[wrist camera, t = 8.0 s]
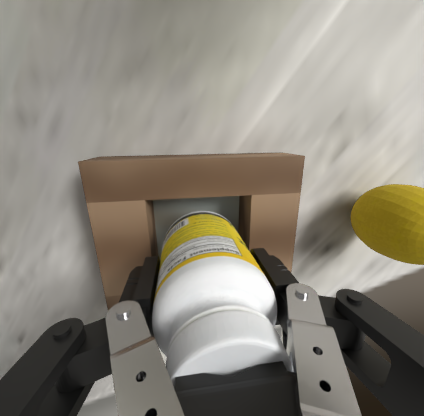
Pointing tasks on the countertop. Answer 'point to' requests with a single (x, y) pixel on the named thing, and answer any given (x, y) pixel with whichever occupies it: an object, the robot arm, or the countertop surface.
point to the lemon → (392, 221)
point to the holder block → (187, 204)
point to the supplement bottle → (213, 301)
